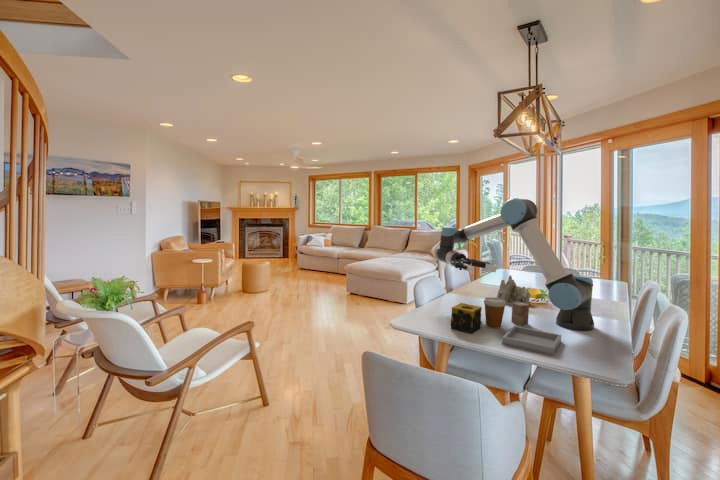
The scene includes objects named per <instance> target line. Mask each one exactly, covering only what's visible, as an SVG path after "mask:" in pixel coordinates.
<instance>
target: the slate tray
mask: <svg viewBox="0 0 720 480" xmlns="http://www.w3.org/2000/svg"><path fill="white" fill-rule="evenodd" d="M561 342H562V334H558V333H553V332H548V331H543V330H537V329H533V328H528V327H523V326H519V325H513V326H512V327H511V328H510V329H509V330H508V331H507V332H506V333H505V334H503V336H501V345H505V346H510V347H514V348H517V349H522V350H527V351H529V352H530V351H531V352H536V353H540V354H542V355H543V354H544V355H549V356H553V357H554V355H555V354H556V352H557V349H558V348H559V346H560V344H561Z"/></svg>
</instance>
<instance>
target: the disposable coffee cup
mask: <svg viewBox="0 0 720 480" xmlns="http://www.w3.org/2000/svg"><path fill="white" fill-rule="evenodd" d="M483 303H484V312H485V313H484V315H485V316H484V317H485V325H486V326H487V327H488V328H493V329H500V328H502V323H503V317H504V312H505V308H506V305H507V304H506V303H505V300H503V299H500V298H496V297H489V296H488V297H485V298H484V300H483Z"/></svg>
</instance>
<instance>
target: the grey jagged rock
mask: <svg viewBox="0 0 720 480" xmlns="http://www.w3.org/2000/svg"><path fill="white" fill-rule="evenodd" d="M507 279H508V280H507V281H505V279H501V281H500V285H499V289H498V290H497V295H496V297H495V298H500V299H503V300H505V303H506V305H511V306H512V304H513V303H519V302H522V303H525V304H528V305H529V306H530V305H531V304H530V303H531V302H530V298H531V294H530V292H529V291H527V290H526V287H525V286H523V287H521V286H518V285H517V283H516V282H515V280H514V279H513V276H512V275H508V278H507Z"/></svg>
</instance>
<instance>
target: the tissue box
mask: <svg viewBox="0 0 720 480" xmlns="http://www.w3.org/2000/svg"><path fill="white" fill-rule="evenodd" d="M482 308H483V307H482V306H478V305H473V304H468V303H465V302H460V303H458V304H457V305H454V306H452V307H451V319H450V330H453V331H457V332H461V333H465V334H470V335H473V334H475V333H476V332H477V331H479V330H481V329H482V321H481V320H482V317H481V316H482Z"/></svg>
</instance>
